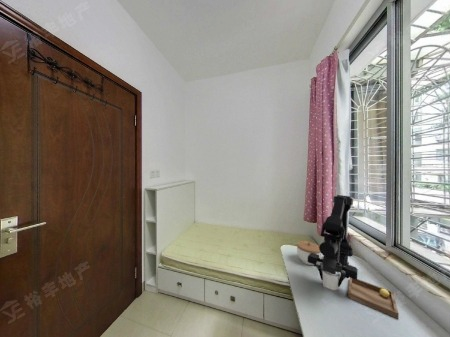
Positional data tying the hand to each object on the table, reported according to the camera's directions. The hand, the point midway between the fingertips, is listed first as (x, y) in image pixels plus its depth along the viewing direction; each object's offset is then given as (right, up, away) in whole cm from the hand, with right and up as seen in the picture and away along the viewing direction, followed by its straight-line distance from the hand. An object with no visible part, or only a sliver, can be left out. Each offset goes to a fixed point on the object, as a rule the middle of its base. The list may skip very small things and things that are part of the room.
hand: (330, 283), depth 76 cm
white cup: (0, -2, 0) cm, 2 cm away
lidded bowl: (0, -2, +21) cm, 21 cm away
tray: (+13, -2, -6) cm, 15 cm away
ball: (+20, -2, -5) cm, 20 cm away
